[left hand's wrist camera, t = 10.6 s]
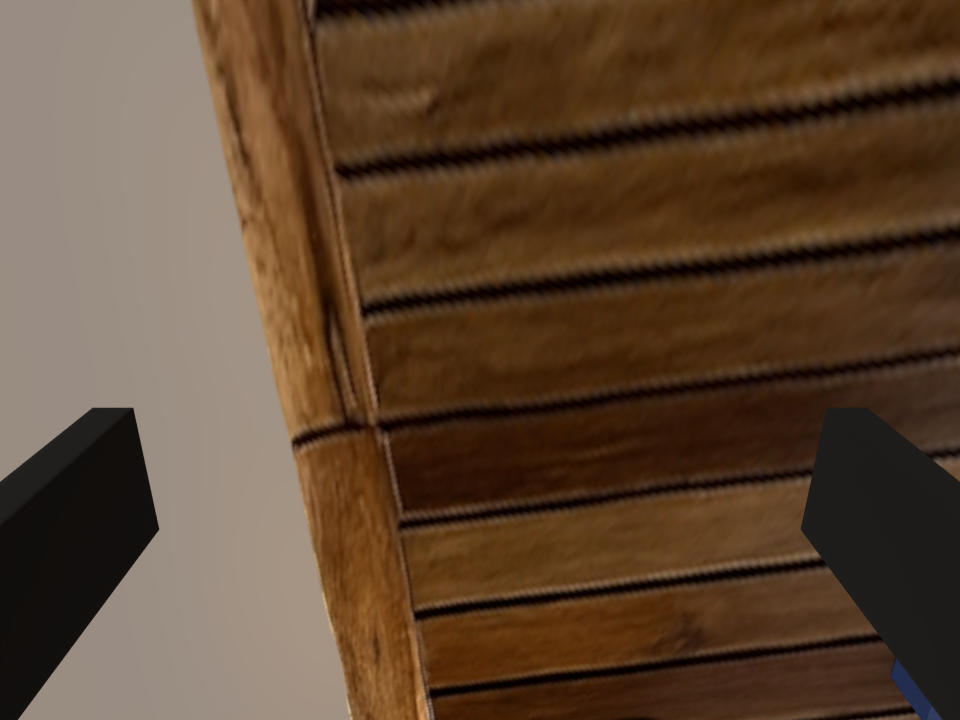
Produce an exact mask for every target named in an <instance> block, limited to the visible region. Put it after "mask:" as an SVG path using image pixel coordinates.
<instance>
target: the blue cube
mask: <svg viewBox="0 0 960 720" xmlns="http://www.w3.org/2000/svg"><path fill="white" fill-rule="evenodd" d="M891 677H892V679H893V680H894V682H895V683H896V684H897V686H898V687H899V689H900V690H901V692H902V693H903V694H904V696H905V697H906V699H907V700H908V701H909V703H910V704H911V706H912V707H913V708H914V710H915V711H916V713H917V714H918V716H919V717H920V718H921V720H942V719H941V718H940V716H939V715H938V713H937V712H936V711H935V709H934V708H933V707H932V705H931V704H930V703H929V701H928V700H927V699H926V697H925V696H924V695H923V693H922V692H921V691H920V689H919V688H918V687H917V685H916V684H915V683H914V681H913V680H912V679H911V677H910V676H909V674H908V673H907V672H906V670H905V669H904V668H903V666H902V665H901V664H900V662H899V661H898V660H897V658H896V660H895V664H894V667H893V670H892V674H891Z"/></svg>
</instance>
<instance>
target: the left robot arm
mask: <svg viewBox="0 0 960 720" xmlns="http://www.w3.org/2000/svg"><path fill="white" fill-rule="evenodd" d="M158 530H159V526H158V522H157V517H156V512H155V507H154V503H153V498H152V493H151V489H150V484H149V479H148V475H147V470H146V465H145V461H144V456H143V451H142V447H141V442H140V437H139V433H138V428H137V423H136V419H135V414H134V409H133V408H92V409H91V410H89V411H88V412H87V413H86V414H84V415H83V416H82V417H81V418H79V419H78V420H77V421H76V422H74V423H73V424H72V425H71V426H69V427H68V428H67V429H66V430H64V431H63V432H62V433H61V434H59V435H58V436H57V437H56V438H54V439H53V440H52V441H51V442H49V443H48V444H47V445H46V446H44V447H43V448H42V449H41V450H39V451H38V452H37V453H36V454H34V455H33V456H32V457H31V458H29V459H28V460H27V461H26V462H24V463H23V464H22V465H21V466H19V467H18V468H17V469H16V470H14V471H13V472H12V473H11V474H9V475H8V476H7V477H6V478H4V479H3V480H2V481H1V482H0V720H18V719H19V717H20V716H21V715H22V713H23V712H24V711H25V709H26V708H27V707H28V705H29V704H30V703H31V701H32V700H33V699H34V697H35V696H36V695H37V693H38V692H39V691H40V689H41V688H42V687H43V685H44V684H45V682H46V681H47V680H48V679H49V677H50V676H51V674H52V673H53V672H54V670H55V669H56V668H57V666H58V665H59V664H60V662H61V661H62V660H63V658H64V657H65V656H66V654H67V653H68V652H69V650H70V649H71V647H72V646H73V645H74V643H75V642H76V641H77V639H78V638H79V637H80V635H81V634H82V633H83V631H84V630H85V629H86V627H87V626H88V625H89V623H90V622H91V621H92V619H93V618H94V617H95V615H96V614H97V613H98V611H99V610H100V608H101V607H102V606H103V604H104V603H105V602H106V600H107V599H108V598H109V596H110V595H111V594H112V592H113V591H114V590H115V588H116V587H117V586H118V584H119V583H120V582H121V580H122V579H123V578H124V576H125V575H126V574H127V572H128V571H129V570H130V568H131V567H132V565H133V564H134V563H135V561H136V560H137V559H138V557H139V556H140V555H141V553H142V552H143V551H144V549H145V548H146V547H147V545H148V544H149V543H150V541H151V540H152V539H153V537H154V536H155V534H156V533H157V532H158ZM801 530H802V532H803V533H804V535H805V536H806V537H807V539H808V540H809V541H810V543H811V544H812V545H813V547H814V548H815V549H816V551H817V552H818V553H819V555H820V556H821V557H822V559H823V560H824V561H825V563H826V564H827V565H828V567H829V568H830V570H831V571H832V572H833V574H834V575H835V576H836V578H837V579H838V580H839V582H840V583H841V584H842V586H843V587H844V588H845V590H846V591H847V592H848V594H849V595H850V596H851V598H852V599H853V600H854V602H855V603H856V604H857V606H858V607H859V609H860V610H861V611H862V613H863V614H864V615H865V617H866V618H867V619H868V621H869V622H870V623H871V625H872V626H873V627H874V629H875V630H876V631H877V633H878V634H879V635H880V637H881V638H882V639H883V641H884V642H885V644H886V645H887V646H888V648H889V649H890V650H891V652H892V653H893V654H894V656H895V657H896V658H897V660H898V661H899V662H900V664H901V665H902V666H903V668H904V669H905V670H906V672H907V673H908V674H909V676H910V677H911V679H912V680H913V681H914V683H915V684H916V685H917V687H918V688H919V689H920V691H921V692H922V693H923V695H924V696H925V697H926V699H927V700H928V701H929V703H930V704H931V705H932V707H933V708H934V709H935V711H936V712H937V713H938V715H939V716H940V718H941V719H942V720H960V482H959V481H958V480H957V479H956V478H954V477H953V476H952V475H951V474H949V473H948V472H947V471H946V470H944V469H943V468H942V467H941V466H939V465H938V464H937V463H936V462H934V461H933V460H932V459H931V458H929V457H928V456H927V455H926V454H924V453H923V452H922V451H921V450H919V449H918V448H917V447H916V446H914V445H913V444H912V443H911V442H909V441H908V440H907V439H906V438H904V437H903V436H902V435H901V434H899V433H898V432H897V431H896V430H894V429H893V428H892V427H891V426H889V425H888V424H887V423H886V422H884V421H883V420H882V419H881V418H879V417H878V416H877V415H876V414H874V413H873V412H872V411H871V410H869V409H868V408H827V409H826V414H825V418H824V423H823V428H822V432H821V437H820V442H819V446H818V451H817V456H816V461H815V465H814V470H813V475H812V479H811V484H810V489H809V493H808V498H807V503H806V507H805V512H804V517H803V521H802V526H801Z"/></svg>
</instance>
